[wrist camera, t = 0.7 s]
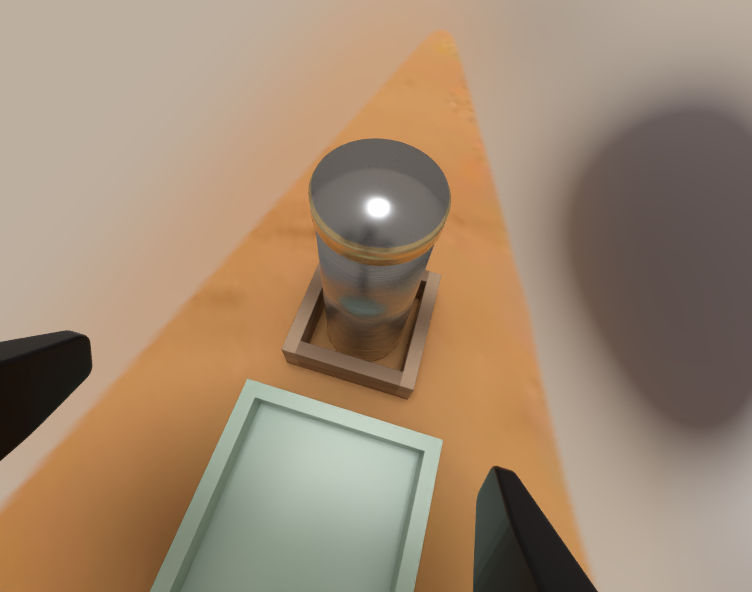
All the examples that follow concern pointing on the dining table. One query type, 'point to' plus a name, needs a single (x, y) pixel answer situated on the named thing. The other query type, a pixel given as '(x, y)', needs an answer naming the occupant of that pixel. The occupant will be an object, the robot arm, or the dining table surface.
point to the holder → (352, 367)
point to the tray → (305, 502)
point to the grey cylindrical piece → (374, 238)
